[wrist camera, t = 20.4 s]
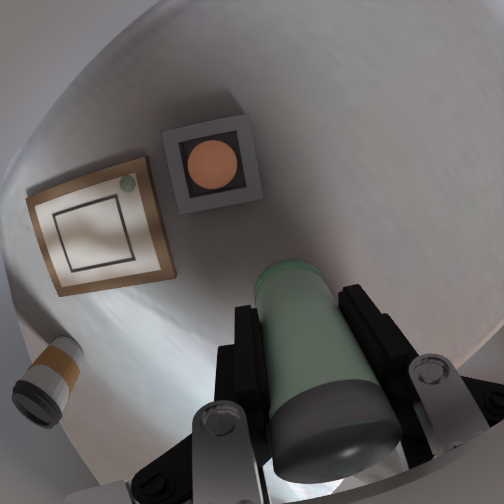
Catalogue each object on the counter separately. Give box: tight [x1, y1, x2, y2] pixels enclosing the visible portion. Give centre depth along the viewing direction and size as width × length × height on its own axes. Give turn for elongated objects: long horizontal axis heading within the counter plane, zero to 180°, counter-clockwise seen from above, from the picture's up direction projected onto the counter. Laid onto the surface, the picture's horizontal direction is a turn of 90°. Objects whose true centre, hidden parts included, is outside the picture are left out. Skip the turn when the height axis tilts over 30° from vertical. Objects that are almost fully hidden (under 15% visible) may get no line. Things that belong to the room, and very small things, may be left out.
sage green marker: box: [254, 259, 403, 484], centre depth 9 cm, size 3×3×8 cm
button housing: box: [161, 114, 264, 215], centre depth 30 cm, size 9×9×3 cm
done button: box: [188, 140, 237, 189], centre depth 30 cm, size 5×5×2 cm
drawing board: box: [26, 156, 177, 297], centre depth 33 cm, size 15×19×1 cm
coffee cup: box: [12, 336, 84, 429], centre depth 34 cm, size 8×8×15 cm
